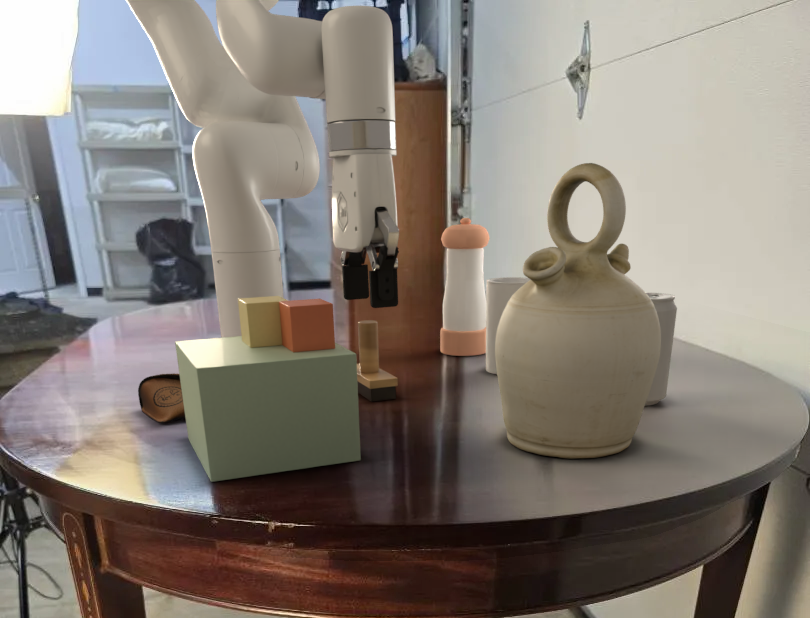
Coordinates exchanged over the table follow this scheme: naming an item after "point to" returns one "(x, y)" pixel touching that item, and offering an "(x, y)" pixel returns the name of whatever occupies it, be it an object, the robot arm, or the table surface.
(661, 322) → the beverage can
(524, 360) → the jug
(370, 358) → the brush
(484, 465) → the table surface
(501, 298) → the mug
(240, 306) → the mustard yellow block
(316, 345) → the terracotta block
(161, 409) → the sunglasses case
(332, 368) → the green box
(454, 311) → the salt shaker
